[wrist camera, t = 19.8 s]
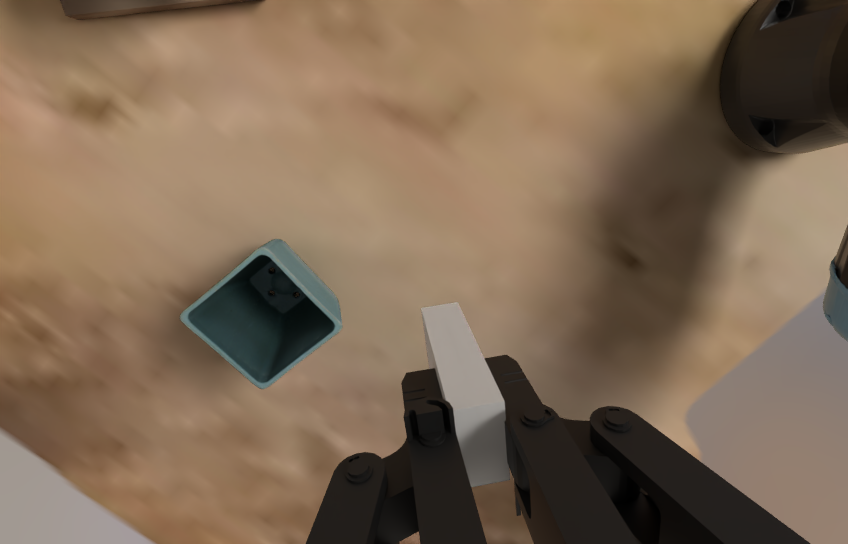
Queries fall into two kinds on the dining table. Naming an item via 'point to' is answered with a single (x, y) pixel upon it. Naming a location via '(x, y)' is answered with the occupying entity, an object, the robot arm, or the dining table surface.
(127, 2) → the base board
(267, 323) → the flower pot
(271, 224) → the dining table surface
